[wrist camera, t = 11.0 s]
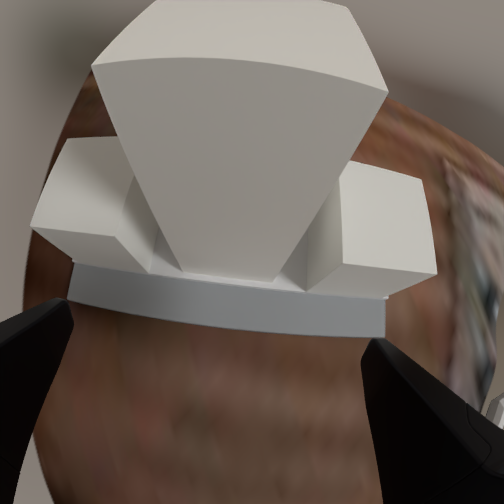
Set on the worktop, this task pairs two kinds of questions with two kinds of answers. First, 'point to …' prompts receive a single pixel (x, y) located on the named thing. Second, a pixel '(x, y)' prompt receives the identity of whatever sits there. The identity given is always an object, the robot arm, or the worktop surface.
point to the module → (239, 122)
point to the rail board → (227, 289)
